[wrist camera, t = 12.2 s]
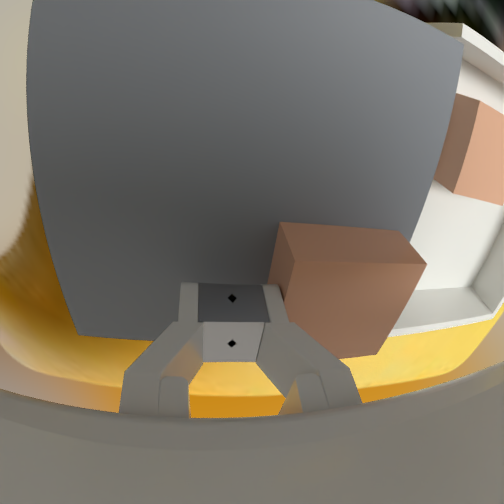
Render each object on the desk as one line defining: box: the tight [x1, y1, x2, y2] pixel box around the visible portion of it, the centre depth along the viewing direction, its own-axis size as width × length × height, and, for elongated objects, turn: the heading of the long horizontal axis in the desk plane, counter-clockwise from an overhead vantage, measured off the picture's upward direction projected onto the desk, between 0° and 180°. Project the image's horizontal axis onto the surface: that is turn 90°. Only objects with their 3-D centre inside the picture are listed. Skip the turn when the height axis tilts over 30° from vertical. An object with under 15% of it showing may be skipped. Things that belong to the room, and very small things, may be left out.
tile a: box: [433, 93, 504, 206], centre depth 11 cm, size 4×4×2 cm
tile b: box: [267, 222, 427, 359], centre depth 10 cm, size 4×4×2 cm
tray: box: [388, 23, 504, 337], centre depth 13 cm, size 15×12×4 cm
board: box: [26, 0, 464, 341], centre depth 10 cm, size 13×13×4 cm
